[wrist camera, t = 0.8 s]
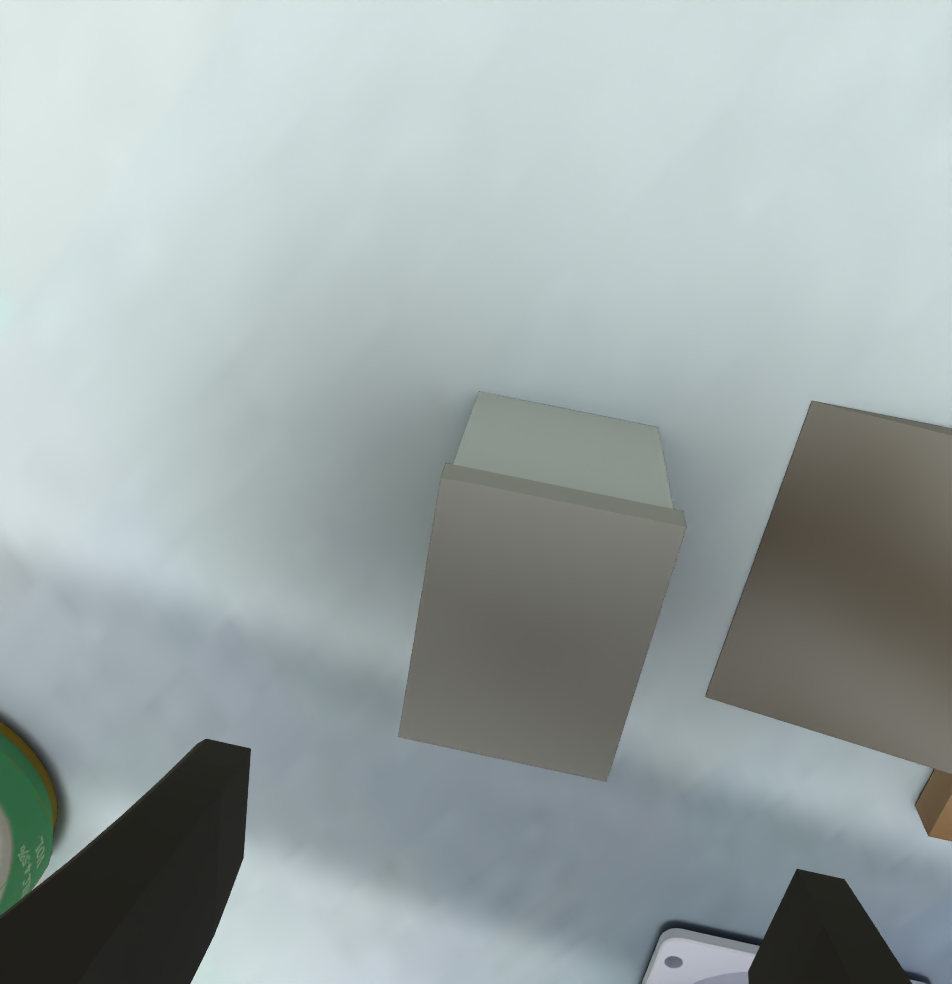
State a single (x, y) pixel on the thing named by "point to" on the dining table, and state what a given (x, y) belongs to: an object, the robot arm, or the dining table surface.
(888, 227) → the dining table surface
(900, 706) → the dock
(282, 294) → the dining table surface
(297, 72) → the dining table surface
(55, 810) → the beverage can
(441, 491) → the grey lidded box
